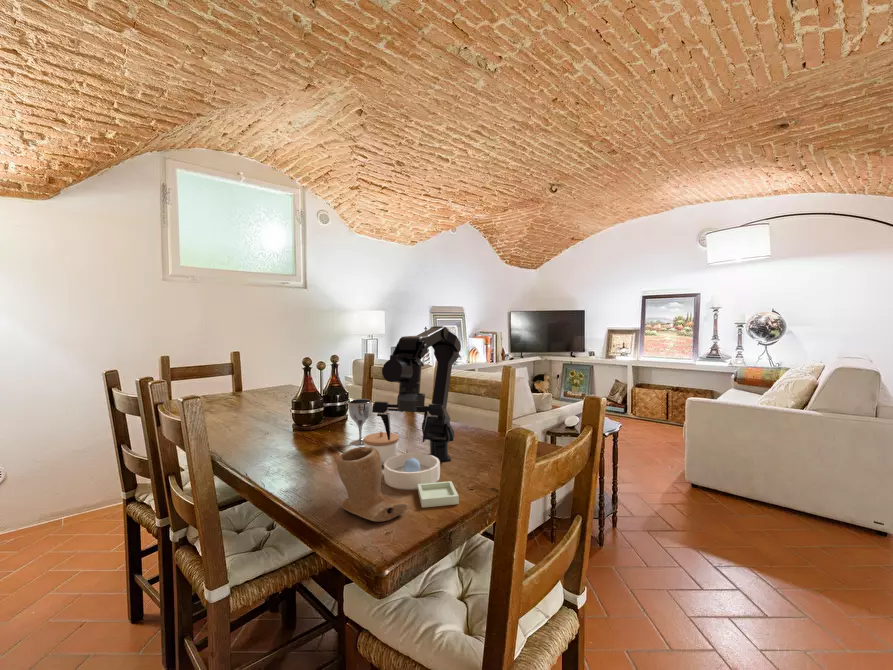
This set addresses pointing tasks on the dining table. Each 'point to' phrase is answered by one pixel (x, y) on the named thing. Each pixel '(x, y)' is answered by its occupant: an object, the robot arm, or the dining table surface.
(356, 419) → the wine glass
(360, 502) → the tan boot vase
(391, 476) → the bowl
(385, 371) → the robot arm
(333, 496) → the dining table surface
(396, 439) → the lidded jar
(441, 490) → the tray
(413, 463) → the ball
